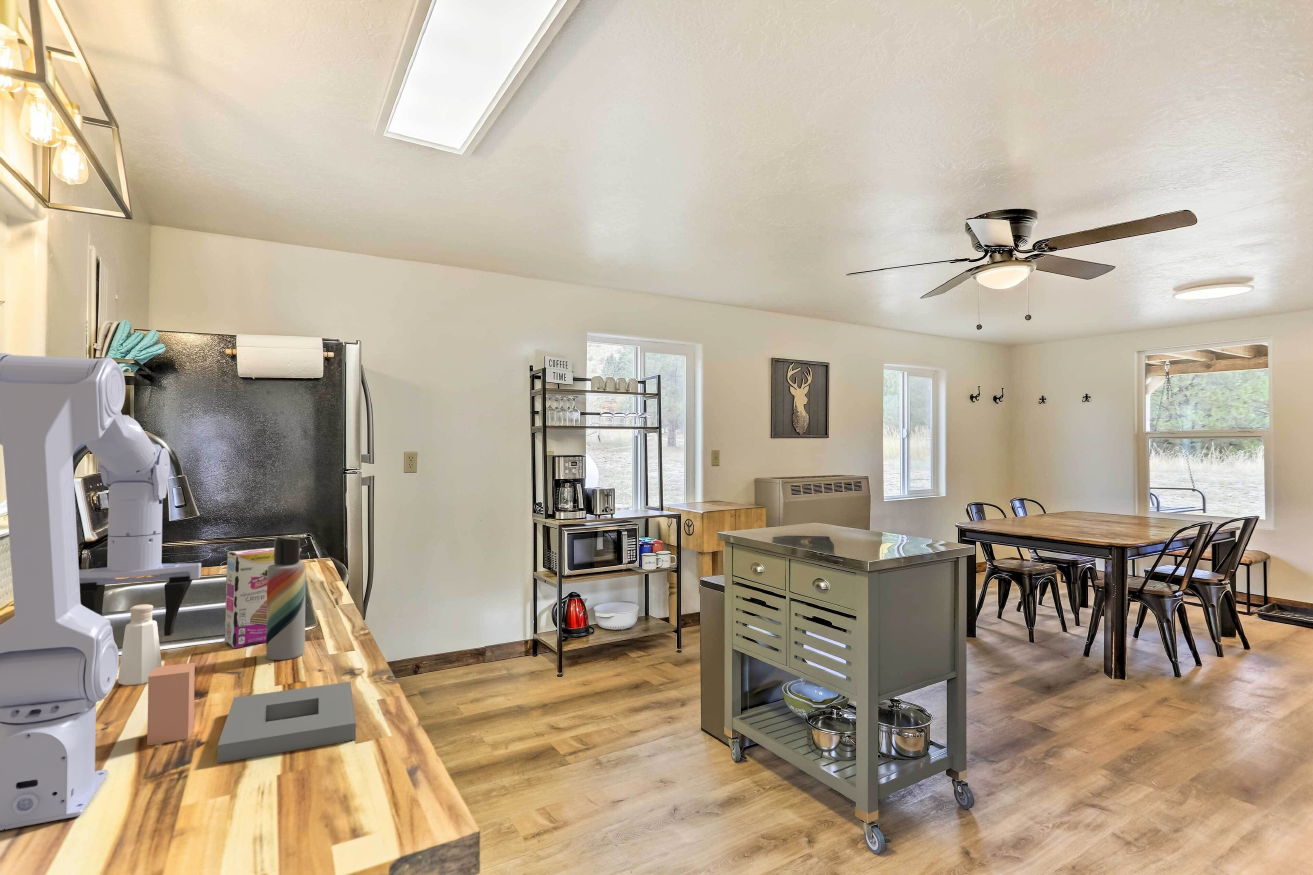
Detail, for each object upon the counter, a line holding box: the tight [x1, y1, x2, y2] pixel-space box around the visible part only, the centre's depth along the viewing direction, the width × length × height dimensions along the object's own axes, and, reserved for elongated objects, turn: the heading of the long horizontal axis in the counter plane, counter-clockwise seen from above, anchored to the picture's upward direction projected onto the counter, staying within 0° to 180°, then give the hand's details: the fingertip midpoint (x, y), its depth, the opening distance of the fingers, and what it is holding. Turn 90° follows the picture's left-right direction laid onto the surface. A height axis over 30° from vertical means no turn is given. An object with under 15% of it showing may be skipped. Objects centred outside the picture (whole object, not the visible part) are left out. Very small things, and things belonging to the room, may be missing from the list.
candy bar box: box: [224, 547, 303, 649], centre depth 123 cm, size 11×5×16 cm, turn 141°
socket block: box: [217, 681, 357, 764], centre depth 86 cm, size 16×14×2 cm
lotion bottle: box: [265, 535, 307, 661], centre depth 114 cm, size 6×6×20 cm
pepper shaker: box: [117, 603, 163, 686], centre depth 102 cm, size 5×5×11 cm
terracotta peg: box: [146, 662, 196, 746], centre depth 83 cm, size 4×4×8 cm
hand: (133, 637), depth 90 cm, fingers open, 7 cm apart
